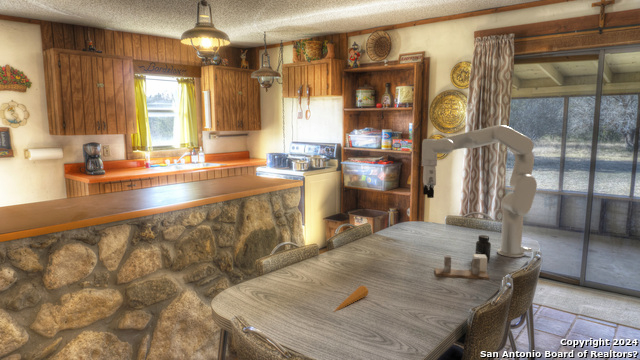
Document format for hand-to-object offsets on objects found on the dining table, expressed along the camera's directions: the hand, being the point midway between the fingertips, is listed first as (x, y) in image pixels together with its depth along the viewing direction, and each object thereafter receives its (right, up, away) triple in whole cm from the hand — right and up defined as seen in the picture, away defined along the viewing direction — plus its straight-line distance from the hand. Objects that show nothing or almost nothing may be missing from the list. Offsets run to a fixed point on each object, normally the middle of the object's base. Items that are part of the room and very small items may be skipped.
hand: (428, 196), depth 211 cm
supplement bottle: (+24, -31, -11) cm, 41 cm away
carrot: (-45, -38, -59) cm, 83 cm away
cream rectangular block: (+17, -33, -25) cm, 44 cm away
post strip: (+6, -34, -31) cm, 46 cm away
